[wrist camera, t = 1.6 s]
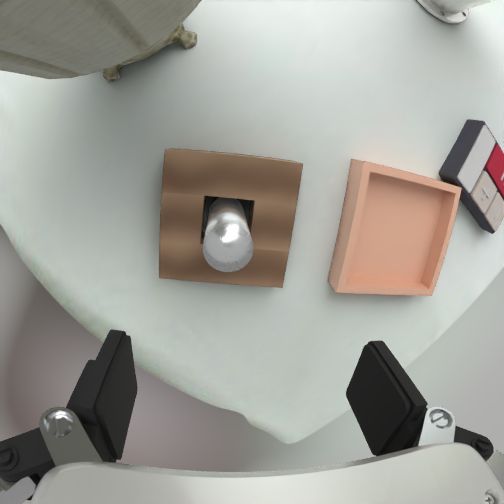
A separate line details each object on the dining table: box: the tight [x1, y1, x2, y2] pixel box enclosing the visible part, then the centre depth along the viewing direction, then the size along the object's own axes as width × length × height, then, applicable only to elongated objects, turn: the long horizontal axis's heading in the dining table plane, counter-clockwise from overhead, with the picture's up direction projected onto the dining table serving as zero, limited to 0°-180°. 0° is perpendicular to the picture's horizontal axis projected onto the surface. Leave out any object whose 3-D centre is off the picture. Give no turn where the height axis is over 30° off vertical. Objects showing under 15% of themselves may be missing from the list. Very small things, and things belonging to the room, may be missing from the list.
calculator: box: [439, 120, 504, 234], centre depth 35 cm, size 11×4×15 cm
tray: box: [328, 159, 462, 296], centre depth 36 cm, size 16×16×4 cm
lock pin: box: [203, 197, 253, 272], centre depth 30 cm, size 4×4×12 cm
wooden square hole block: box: [159, 149, 303, 288], centre depth 34 cm, size 14×14×4 cm
